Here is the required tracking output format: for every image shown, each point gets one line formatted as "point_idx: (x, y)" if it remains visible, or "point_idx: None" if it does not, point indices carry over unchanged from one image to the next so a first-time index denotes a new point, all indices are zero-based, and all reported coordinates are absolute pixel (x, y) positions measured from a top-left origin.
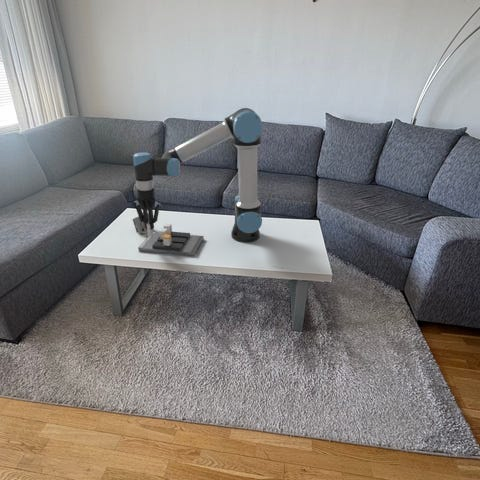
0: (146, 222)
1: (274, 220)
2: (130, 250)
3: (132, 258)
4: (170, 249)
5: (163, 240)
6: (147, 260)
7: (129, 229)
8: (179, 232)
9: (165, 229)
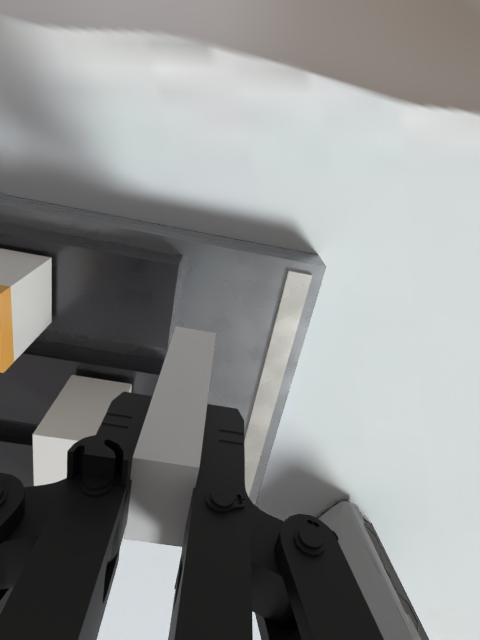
0: (196, 497)
1: None
2: (393, 273)
3: (360, 117)
4: None
5: (18, 277)
6: (201, 68)
7: (424, 555)
8: None
9: (49, 477)
